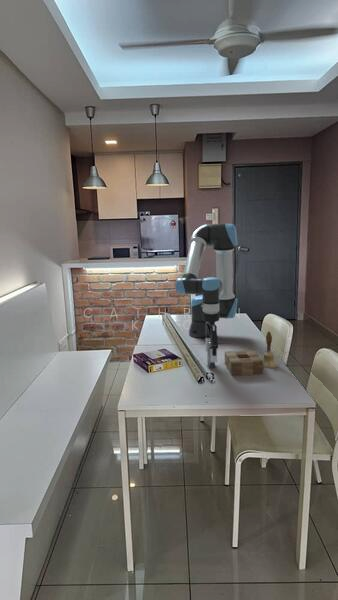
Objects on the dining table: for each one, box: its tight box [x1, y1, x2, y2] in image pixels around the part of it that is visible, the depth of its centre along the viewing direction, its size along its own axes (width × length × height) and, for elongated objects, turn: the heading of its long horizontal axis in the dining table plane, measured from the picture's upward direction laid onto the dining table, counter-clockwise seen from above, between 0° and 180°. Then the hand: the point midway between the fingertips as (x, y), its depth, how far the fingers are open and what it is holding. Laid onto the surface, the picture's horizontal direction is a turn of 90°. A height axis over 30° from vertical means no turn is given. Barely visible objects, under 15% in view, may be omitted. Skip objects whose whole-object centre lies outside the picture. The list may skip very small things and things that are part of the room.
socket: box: [224, 349, 264, 377], centre depth 167 cm, size 14×14×6 cm
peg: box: [206, 341, 216, 369], centre depth 170 cm, size 4×4×12 cm
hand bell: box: [262, 331, 279, 369], centre depth 170 cm, size 8×8×16 cm
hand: (211, 356), depth 170 cm, fingers open, 13 cm apart
